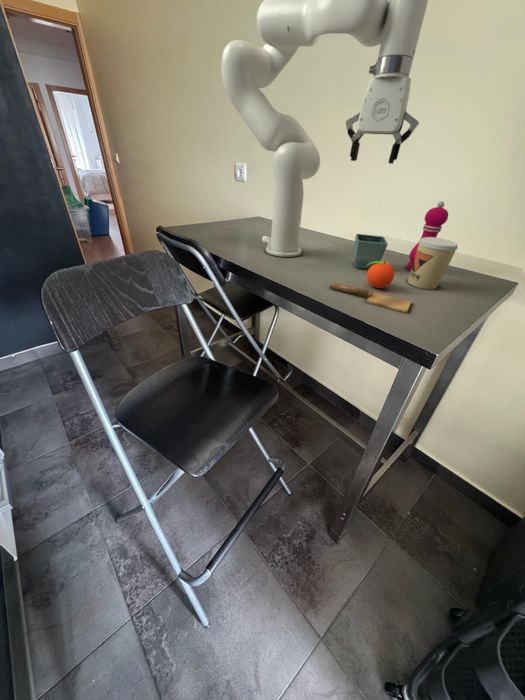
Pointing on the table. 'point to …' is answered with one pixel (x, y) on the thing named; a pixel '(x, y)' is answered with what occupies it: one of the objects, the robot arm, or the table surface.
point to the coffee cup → (431, 262)
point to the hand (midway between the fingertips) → (371, 162)
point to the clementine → (380, 274)
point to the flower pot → (368, 250)
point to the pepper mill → (430, 227)
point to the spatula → (374, 297)
